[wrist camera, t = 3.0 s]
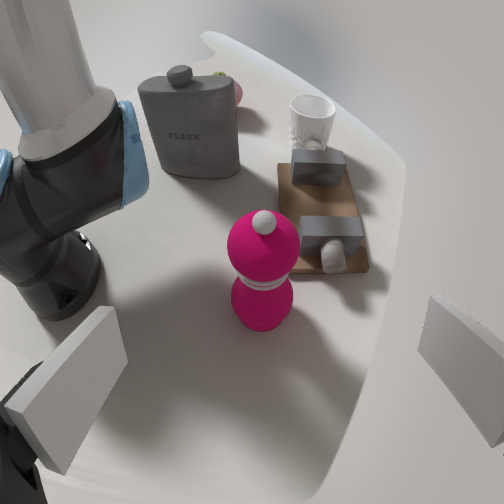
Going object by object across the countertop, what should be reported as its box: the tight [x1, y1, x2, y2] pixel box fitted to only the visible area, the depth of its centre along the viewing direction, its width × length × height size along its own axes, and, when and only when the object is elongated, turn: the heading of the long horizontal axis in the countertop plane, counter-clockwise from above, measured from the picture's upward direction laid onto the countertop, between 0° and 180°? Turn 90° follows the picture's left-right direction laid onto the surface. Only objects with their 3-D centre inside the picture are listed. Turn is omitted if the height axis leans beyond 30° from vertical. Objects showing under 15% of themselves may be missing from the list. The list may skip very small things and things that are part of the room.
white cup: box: [289, 94, 336, 152], centre depth 49 cm, size 8×8×10 cm
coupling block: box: [277, 139, 369, 274], centre depth 43 cm, size 12×23×6 cm, turn 0°
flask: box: [137, 65, 240, 179], centre depth 43 cm, size 15×6×20 cm, turn 78°
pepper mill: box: [227, 210, 300, 332], centre depth 30 cm, size 7×7×20 cm
